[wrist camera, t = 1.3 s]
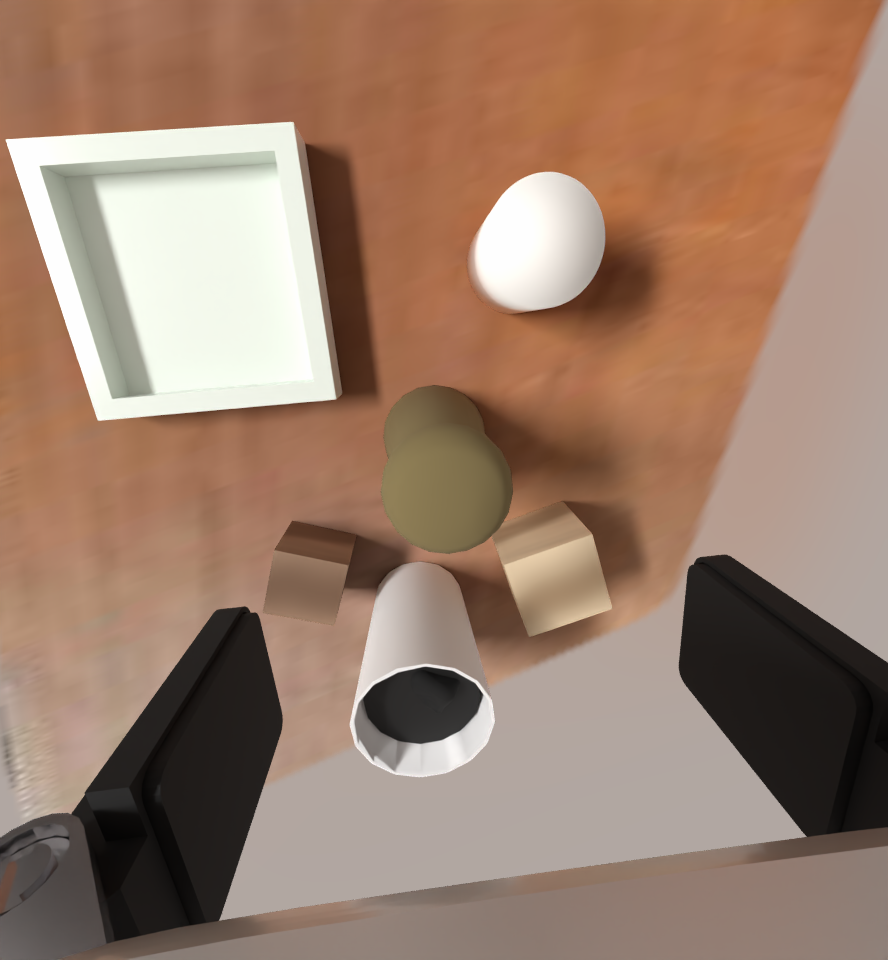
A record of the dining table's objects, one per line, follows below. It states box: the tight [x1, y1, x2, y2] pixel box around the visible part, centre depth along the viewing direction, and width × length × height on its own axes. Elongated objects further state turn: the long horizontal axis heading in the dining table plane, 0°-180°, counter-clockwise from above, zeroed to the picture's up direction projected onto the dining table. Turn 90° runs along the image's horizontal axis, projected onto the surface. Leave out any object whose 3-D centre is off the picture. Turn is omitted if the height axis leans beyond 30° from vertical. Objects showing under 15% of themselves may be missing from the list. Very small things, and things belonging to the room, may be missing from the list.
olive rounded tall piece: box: [381, 385, 513, 554], centre depth 21 cm, size 6×6×11 cm
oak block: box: [492, 501, 612, 637], centre depth 27 cm, size 5×5×5 cm
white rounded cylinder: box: [467, 172, 605, 314], centre depth 21 cm, size 5×5×6 cm
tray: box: [6, 122, 342, 421], centre depth 22 cm, size 12×12×2 cm
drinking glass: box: [350, 561, 495, 777], centre depth 25 cm, size 7×7×10 cm
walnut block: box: [263, 521, 356, 626], centre depth 27 cm, size 4×4×4 cm
